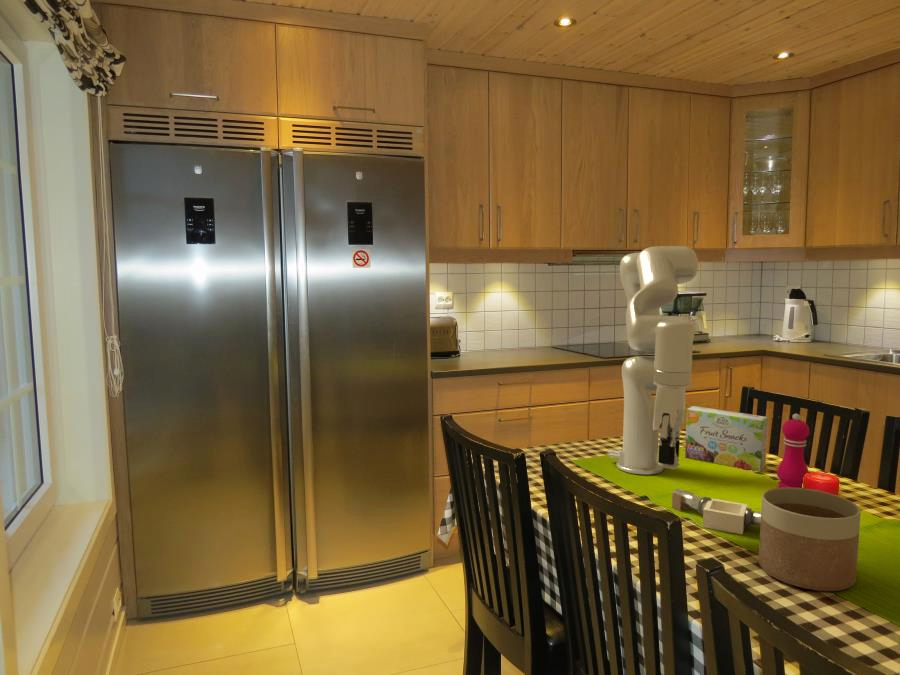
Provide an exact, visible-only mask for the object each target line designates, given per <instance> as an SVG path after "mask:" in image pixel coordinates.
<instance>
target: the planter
mask: <svg viewBox="0 0 900 675" xmlns="http://www.w3.org/2000/svg"><path fill="white" fill-rule="evenodd" d="M760 512H761V526H760V528H759V529H760V531H759V548H758V565H759V566H760V568H761V569H762V570H763V571H764V572H765V573H767V574H768V575H769V576H771V577H773V578H774V579H776V580H779V581H781V582H782V583H785V584H788V585H791V586H794V587H798V588H800V589H801V588H802V589H806V590H811V591H818V592H819V591H820V592H821V591H822V592H834V591H835V592H836V591H843V590H846V589H849V588H851V587H853V585H855V583H856V581H857V569H858V554H859V539H860V528H861V527H860V525H861V515H862V514H861V513H862V511H861V508H860V507H859V506H858V505H857V504H856V503H855V502H854V501H851V500H850V499H848V498H845V497H842V496H841V495H837V494H833V493H831V492H825V491H822V490H817V489H812V488H806V489H804V488H778V487H776V488H771V489H768V490H766V491H764V492H763V493H762V496H761V511H760Z"/></svg>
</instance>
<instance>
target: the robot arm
mask: <svg viewBox="0 0 900 675" xmlns="http://www.w3.org/2000/svg"><path fill="white" fill-rule="evenodd" d="M698 269H699V258H698V256H697V254H696V252H695V250H694V249H693V248H691V247H690V246H685V245H684V246H683V245H682V246H681V245H680V246H679V245H678V246H677V245H675V246H670V245H669V246H668V245H667V246H665V245H664V246H649V247H646V248H644V249H642V251H640V252H633V253H628V254H626V255H624V256H623V257H622V258H621V259H620V264H619V273H620V275H619V276H620V281H621V285H622V288H623V290H624V293H625V296H626V300H627V301H626V302H627V307H626V311H625V324H626V333H627V334H626V335H627V342H628V346H629V347H630V348H631V349H632V350H634V351H638V352H651V353H652V352H654V356H647V355H646V356H645V355H643V356H642V355H641V356H639V355H638V356H632V357H629V358H627V359H625V360H624V361H623V363H622V366H621V378H622V388H623V421H622V422H623V425H622V426H623V430H622V449H619V450H616V449H612V448H609V449H608V450H607V456H609V458H611V459H617V461H616V467H617V469H619V470H621V471H622V472H626V473H630V474H635V475H656V474H660V473H662V472H664V471H663V470H664V467H661V466H660V465H659V464H658V462H659V463H662V464H669V465H673V464H674V459H675V448H676V454H677V457H678V458H679V457H680V444H681V443H680V441H681V440H680V429H681V428H682V426H683V425H684V420H685V412H686V389H687V388H690V387H691V386H692V384H691V383H692V366H693V365H692V364H693V345H694V344H693V343H694V339H695V324H694V323H692V321H691V320H690V318H688V317H687V316H682V315H660V309H661V308H664V307H665V306H668V305H670V304H671V303H673V302H674V301H675V300H676V298H677V297H678V293H679V286H678V285H682V284H686V283H688V282H689V283H690V282H691V281H692V280H694V278H695V277H696V276H697V274H698ZM653 392H656V393H655V398H654V397H653V395H651V393H653ZM670 429H672V432H668V431H670ZM659 430H660V431H659ZM675 433H677V434H678V436H677V437H676V439H675V440H676V443H675V446H674V435H675ZM668 435H671V438H670V436H668ZM670 439H671V440H670ZM658 458H659V459H658Z"/></svg>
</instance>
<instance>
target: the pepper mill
mask: <svg viewBox="0 0 900 675" xmlns="http://www.w3.org/2000/svg"><path fill="white" fill-rule="evenodd" d="M781 430H782V431H781V432H782V434H783V435H784V437H783V444H784V445H785V450H784V454H783V455H784V456H783V457H782V459H781V461H780V463H779V464H778V467H777V470H776V476H777V477H778V479H779V481H778V484H777V485H778V486H777V488H802V483H803V477H804V475H805V474H806V473H809V474H810V472H809V468H808V465H807V464H806V462H805V457H804V449H805V447H806V446H807V437H808V436H809V434H810V427H809V425H808V424H807V423H806V422H805V421H804V420H801V415H800V414H798V413H794V414H792V419H787V421H785V422H784V423H783V425H782V428H781Z"/></svg>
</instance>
